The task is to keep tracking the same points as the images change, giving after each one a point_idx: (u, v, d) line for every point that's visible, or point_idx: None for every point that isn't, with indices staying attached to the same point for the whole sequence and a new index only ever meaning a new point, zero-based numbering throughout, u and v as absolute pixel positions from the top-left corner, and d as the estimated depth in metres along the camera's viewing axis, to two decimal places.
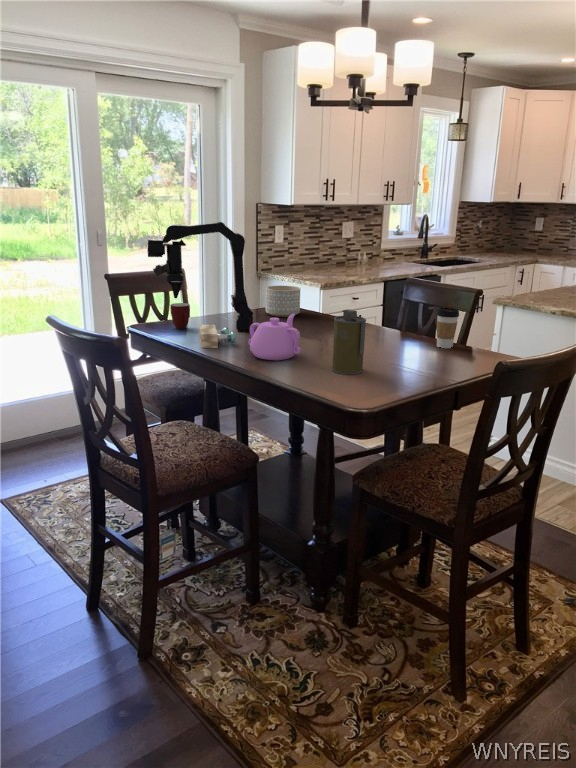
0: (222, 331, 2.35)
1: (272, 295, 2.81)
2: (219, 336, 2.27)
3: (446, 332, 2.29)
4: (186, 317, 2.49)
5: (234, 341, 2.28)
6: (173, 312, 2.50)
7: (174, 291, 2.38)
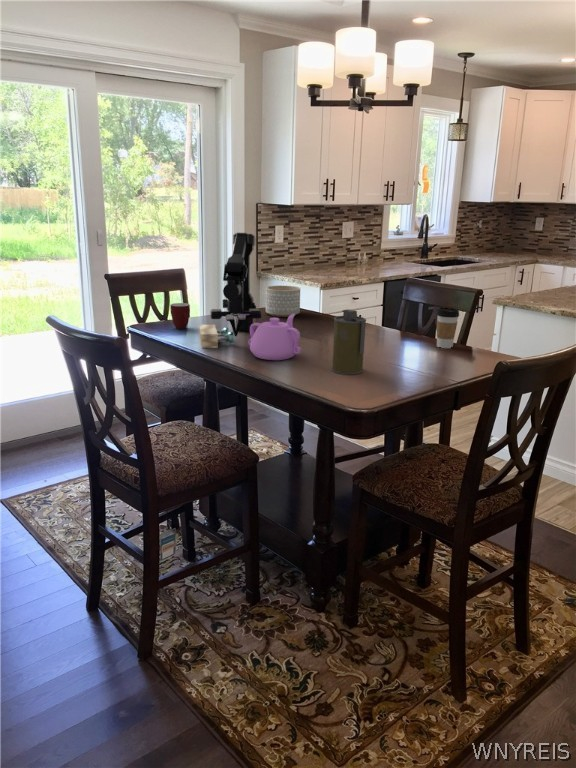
0: (222, 331, 2.35)
1: (272, 295, 2.81)
2: None
3: (446, 332, 2.29)
4: (186, 317, 2.49)
5: (232, 341, 2.28)
6: (173, 312, 2.50)
7: (232, 328, 2.29)
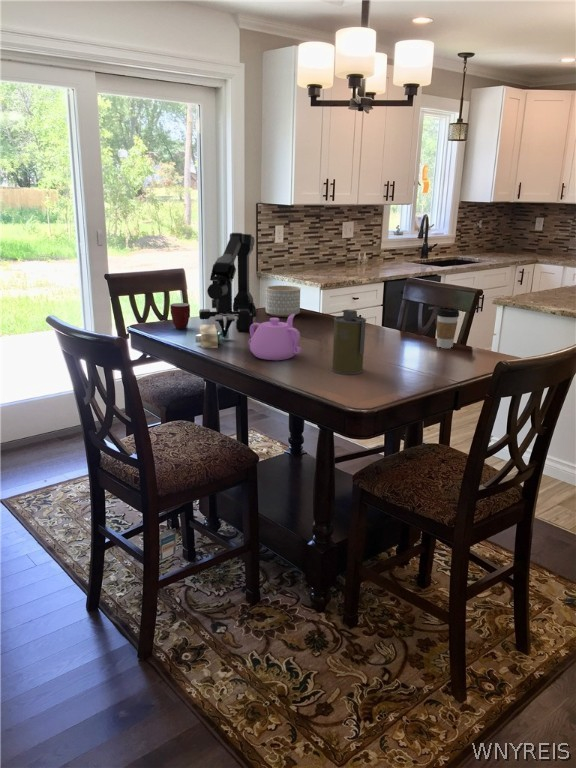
0: None
1: (272, 295, 2.81)
2: None
3: (446, 332, 2.29)
4: (186, 317, 2.49)
5: (221, 341, 2.27)
6: (173, 312, 2.50)
7: None
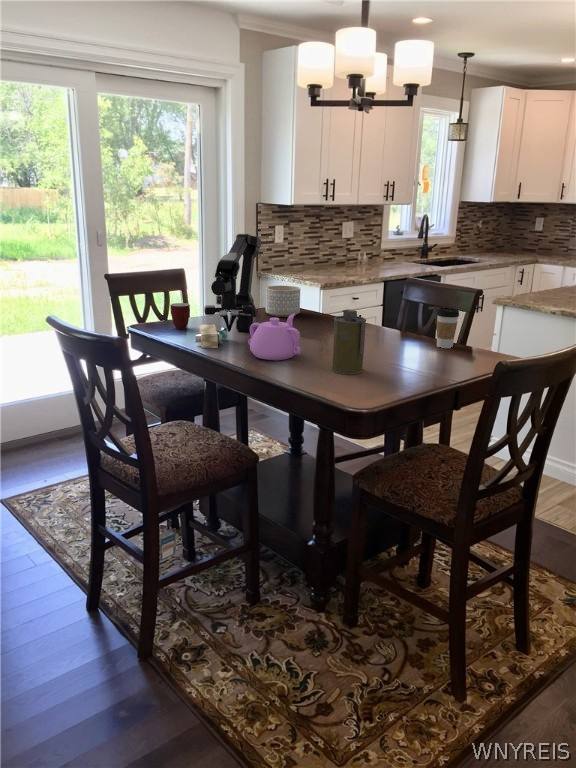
0: (220, 331, 2.35)
1: (272, 295, 2.81)
2: None
3: (446, 332, 2.29)
4: (186, 317, 2.49)
5: (221, 341, 2.27)
6: (173, 312, 2.50)
7: None
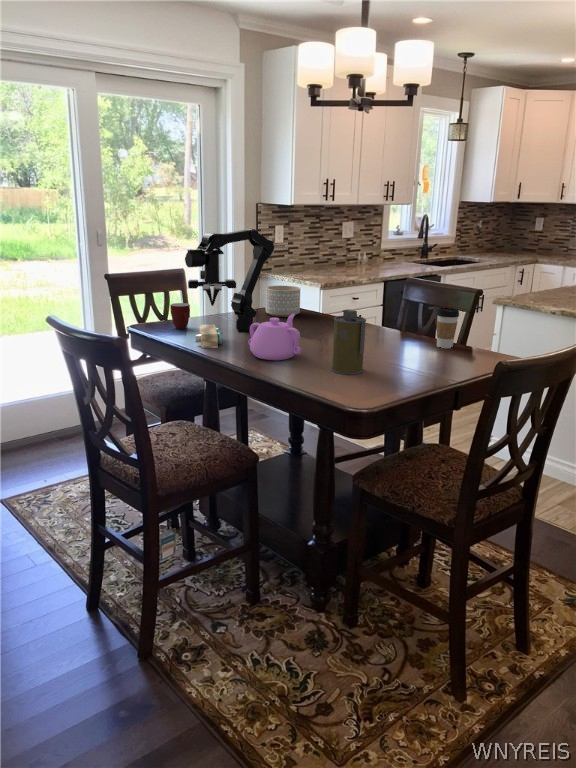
0: None
1: (272, 295, 2.81)
2: None
3: (446, 332, 2.29)
4: (186, 317, 2.49)
5: (221, 341, 2.27)
6: (173, 312, 2.50)
7: None
